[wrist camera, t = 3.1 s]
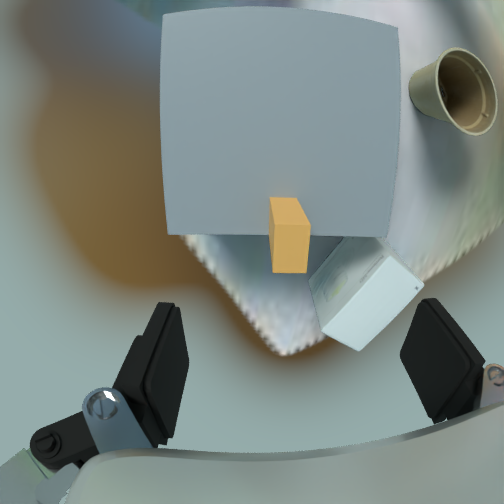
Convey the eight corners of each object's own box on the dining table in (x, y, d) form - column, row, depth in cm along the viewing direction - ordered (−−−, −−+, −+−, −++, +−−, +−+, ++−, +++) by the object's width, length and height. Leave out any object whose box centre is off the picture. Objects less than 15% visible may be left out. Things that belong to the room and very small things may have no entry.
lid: (393, 29, 15) (436, 7, 9) (383, 233, 23) (419, 271, 17) (165, 17, 15) (133, -16, 9) (170, 230, 23) (142, 270, 17)
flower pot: (423, 143, 28) (465, 152, 21) (381, 78, 26) (419, 68, 18) (464, 108, 26) (507, 112, 18) (428, 47, 23) (468, 36, 15)
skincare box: (356, 216, 33) (391, 254, 23) (389, 244, 34) (427, 285, 25) (304, 280, 37) (319, 333, 27) (340, 301, 38) (360, 354, 29)
